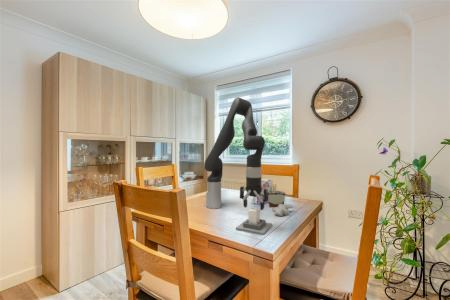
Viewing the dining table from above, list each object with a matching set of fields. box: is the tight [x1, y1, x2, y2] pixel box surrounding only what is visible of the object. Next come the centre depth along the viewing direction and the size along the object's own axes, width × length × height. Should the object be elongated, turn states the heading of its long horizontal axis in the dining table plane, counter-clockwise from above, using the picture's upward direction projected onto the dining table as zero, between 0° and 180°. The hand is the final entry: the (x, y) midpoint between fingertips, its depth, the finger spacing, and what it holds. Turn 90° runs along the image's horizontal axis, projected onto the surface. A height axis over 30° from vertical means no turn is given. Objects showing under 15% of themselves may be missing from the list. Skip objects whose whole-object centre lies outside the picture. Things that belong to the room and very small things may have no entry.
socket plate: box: [235, 218, 273, 236], centre depth 108 cm, size 14×14×3 cm
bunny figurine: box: [272, 203, 293, 217], centre depth 130 cm, size 10×5×15 cm
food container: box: [268, 190, 287, 209], centre depth 145 cm, size 12×6×10 cm, turn 84°
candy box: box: [252, 178, 273, 206], centre depth 155 cm, size 14×6×16 cm, turn 117°
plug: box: [248, 207, 261, 225], centre depth 108 cm, size 4×5×8 cm
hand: (253, 208), depth 108 cm, fingers open, 8 cm apart
